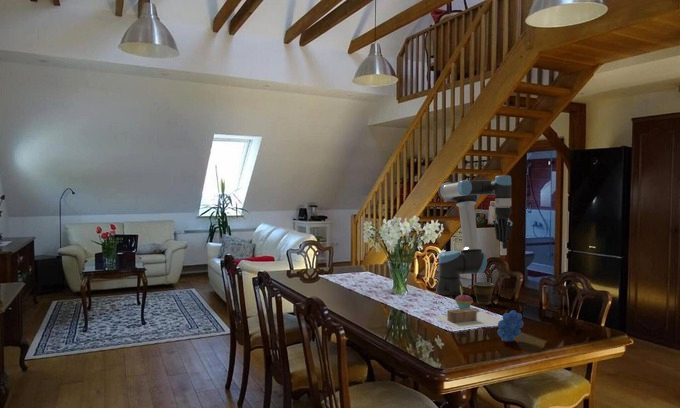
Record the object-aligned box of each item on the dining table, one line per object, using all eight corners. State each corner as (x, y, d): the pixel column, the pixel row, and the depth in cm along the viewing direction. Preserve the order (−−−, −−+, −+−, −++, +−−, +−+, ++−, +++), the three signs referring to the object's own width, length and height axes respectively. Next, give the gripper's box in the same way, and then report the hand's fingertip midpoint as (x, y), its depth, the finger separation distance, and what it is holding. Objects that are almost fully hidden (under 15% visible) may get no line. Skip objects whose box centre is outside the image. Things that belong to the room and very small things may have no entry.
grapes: (515, 336, 192) (515, 306, 191) (527, 341, 185) (527, 310, 185) (490, 339, 188) (490, 309, 188) (502, 344, 182) (502, 313, 181)
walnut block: (470, 317, 218) (447, 320, 214) (470, 308, 217) (447, 310, 214) (477, 320, 213) (453, 323, 209) (477, 310, 213) (453, 313, 209)
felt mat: (433, 318, 220) (433, 316, 220) (482, 312, 228) (482, 311, 228) (457, 330, 201) (457, 328, 201) (509, 323, 209) (509, 322, 209)
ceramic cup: (491, 301, 252) (491, 282, 252) (495, 305, 242) (495, 285, 242) (466, 300, 254) (466, 281, 253) (469, 305, 244) (469, 285, 243)
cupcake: (453, 310, 234) (453, 285, 233) (457, 306, 241) (457, 282, 241) (471, 312, 230) (471, 287, 229) (474, 308, 237) (474, 284, 237)
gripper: (488, 206, 240) (488, 253, 241) (505, 207, 228) (505, 257, 229) (501, 206, 243) (501, 252, 243) (518, 207, 230) (518, 256, 231)
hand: (503, 254), depth 236 cm, fingers closed
